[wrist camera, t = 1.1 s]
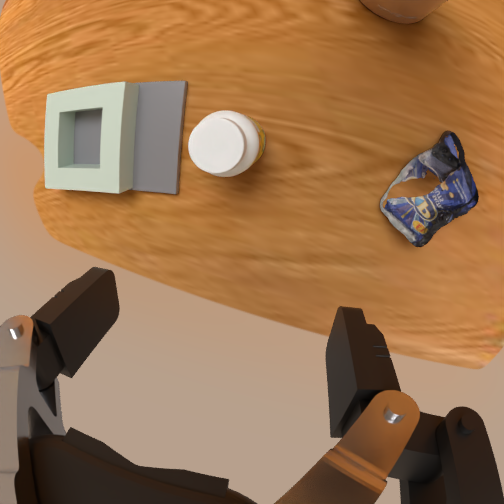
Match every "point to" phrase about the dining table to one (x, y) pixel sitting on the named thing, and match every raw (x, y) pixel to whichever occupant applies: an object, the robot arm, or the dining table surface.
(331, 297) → the dining table surface
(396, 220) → the snack package
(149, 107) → the socket board
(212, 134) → the supplement bottle
